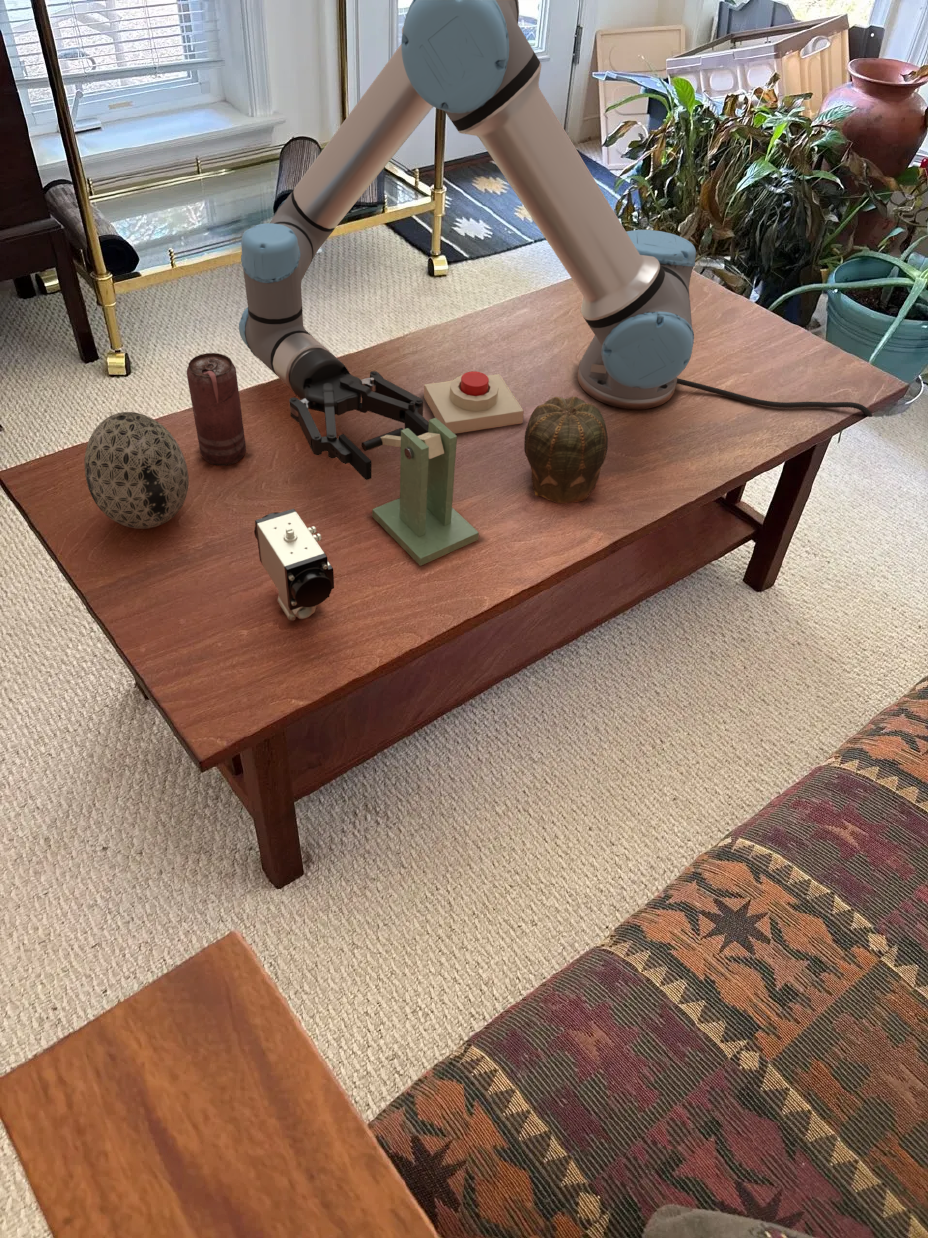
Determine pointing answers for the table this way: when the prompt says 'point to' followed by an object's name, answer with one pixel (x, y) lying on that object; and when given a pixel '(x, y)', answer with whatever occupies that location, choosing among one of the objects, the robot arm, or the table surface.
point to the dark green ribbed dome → (565, 449)
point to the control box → (473, 405)
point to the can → (216, 408)
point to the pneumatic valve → (294, 562)
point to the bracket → (426, 500)
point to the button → (474, 383)
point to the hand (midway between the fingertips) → (402, 457)
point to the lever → (395, 440)
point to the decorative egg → (135, 471)
